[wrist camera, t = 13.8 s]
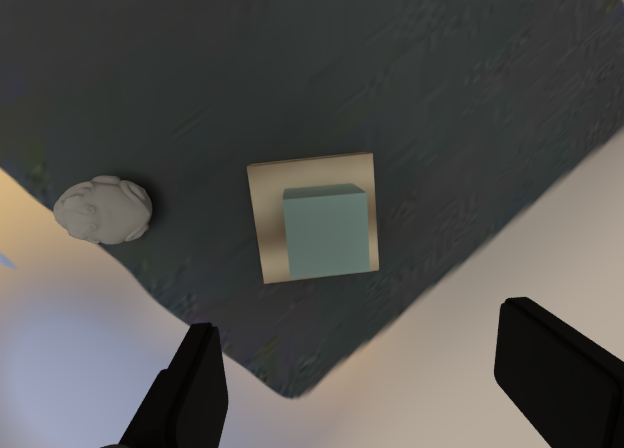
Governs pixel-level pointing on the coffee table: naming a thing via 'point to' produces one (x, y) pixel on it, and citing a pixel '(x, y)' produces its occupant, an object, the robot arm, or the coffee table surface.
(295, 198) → the teal cube
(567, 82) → the coffee table surface
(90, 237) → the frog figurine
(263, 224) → the birch block
